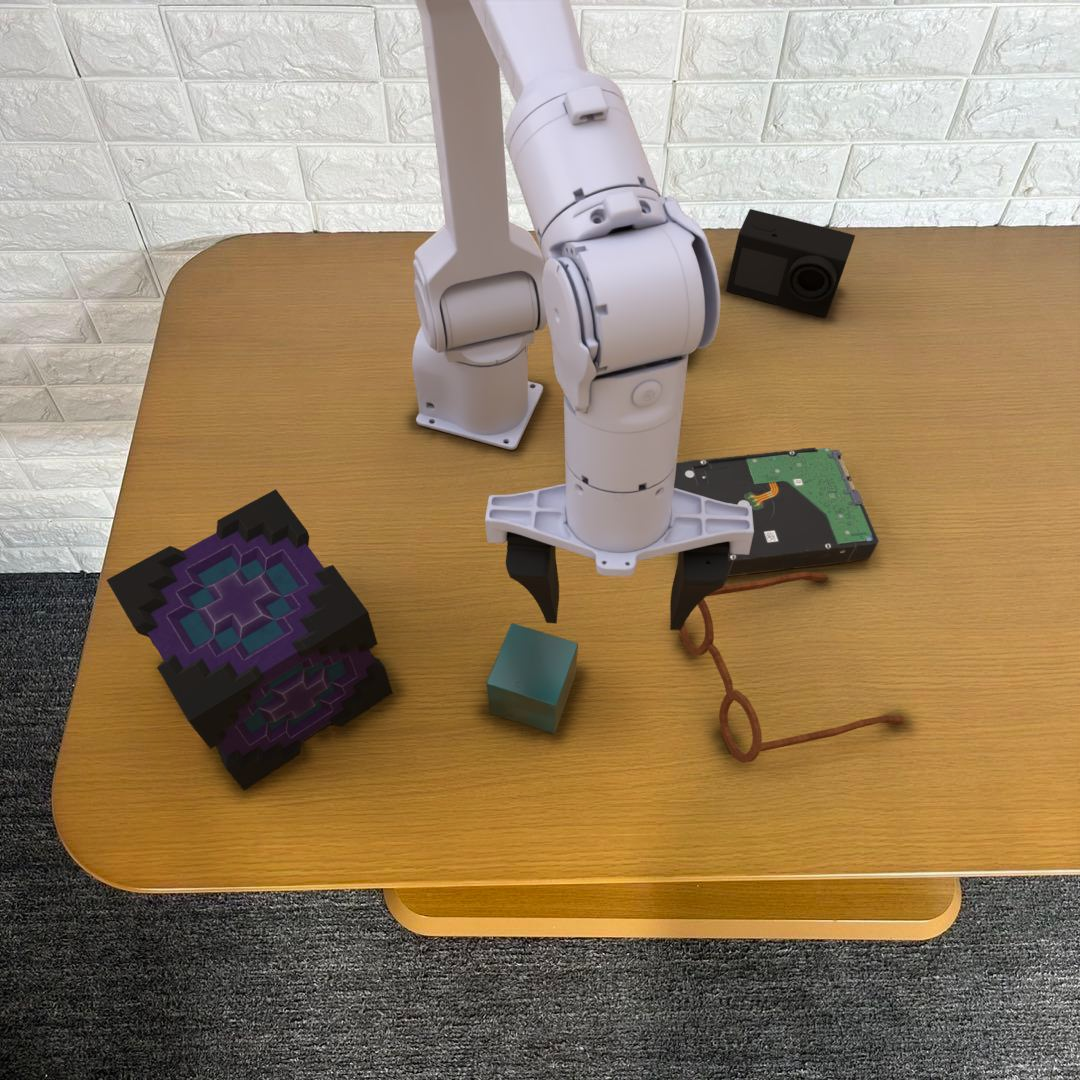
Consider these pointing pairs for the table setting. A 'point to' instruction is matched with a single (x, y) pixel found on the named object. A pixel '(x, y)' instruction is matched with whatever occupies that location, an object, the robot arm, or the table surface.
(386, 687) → the energy cube
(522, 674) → the teal block
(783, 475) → the disk drive
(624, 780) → the table surface
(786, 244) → the digital camera
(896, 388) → the table surface
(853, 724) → the glasses
